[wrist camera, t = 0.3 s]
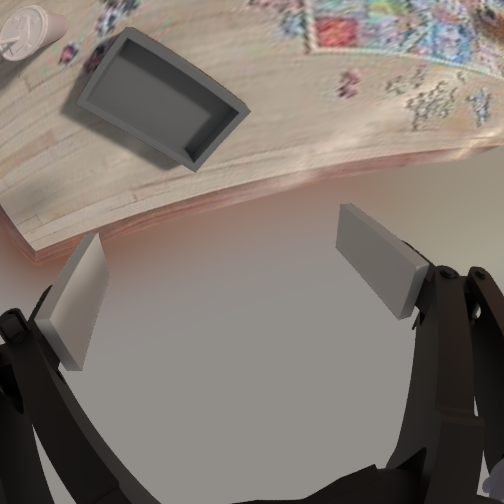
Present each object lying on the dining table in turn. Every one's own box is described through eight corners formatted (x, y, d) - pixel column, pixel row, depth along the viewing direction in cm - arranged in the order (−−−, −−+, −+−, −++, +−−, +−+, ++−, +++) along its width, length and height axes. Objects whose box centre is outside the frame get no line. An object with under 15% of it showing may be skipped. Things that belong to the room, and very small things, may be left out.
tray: (132, 27, 22) (125, 26, 20) (245, 103, 34) (251, 111, 31) (85, 96, 27) (75, 104, 24) (194, 159, 39) (195, 172, 36)
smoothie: (31, 47, 19) (-32, 70, 9) (47, 5, 15) (-14, 7, 6) (67, 52, 22) (11, 73, 12) (85, 9, 18) (33, 5, 9)
